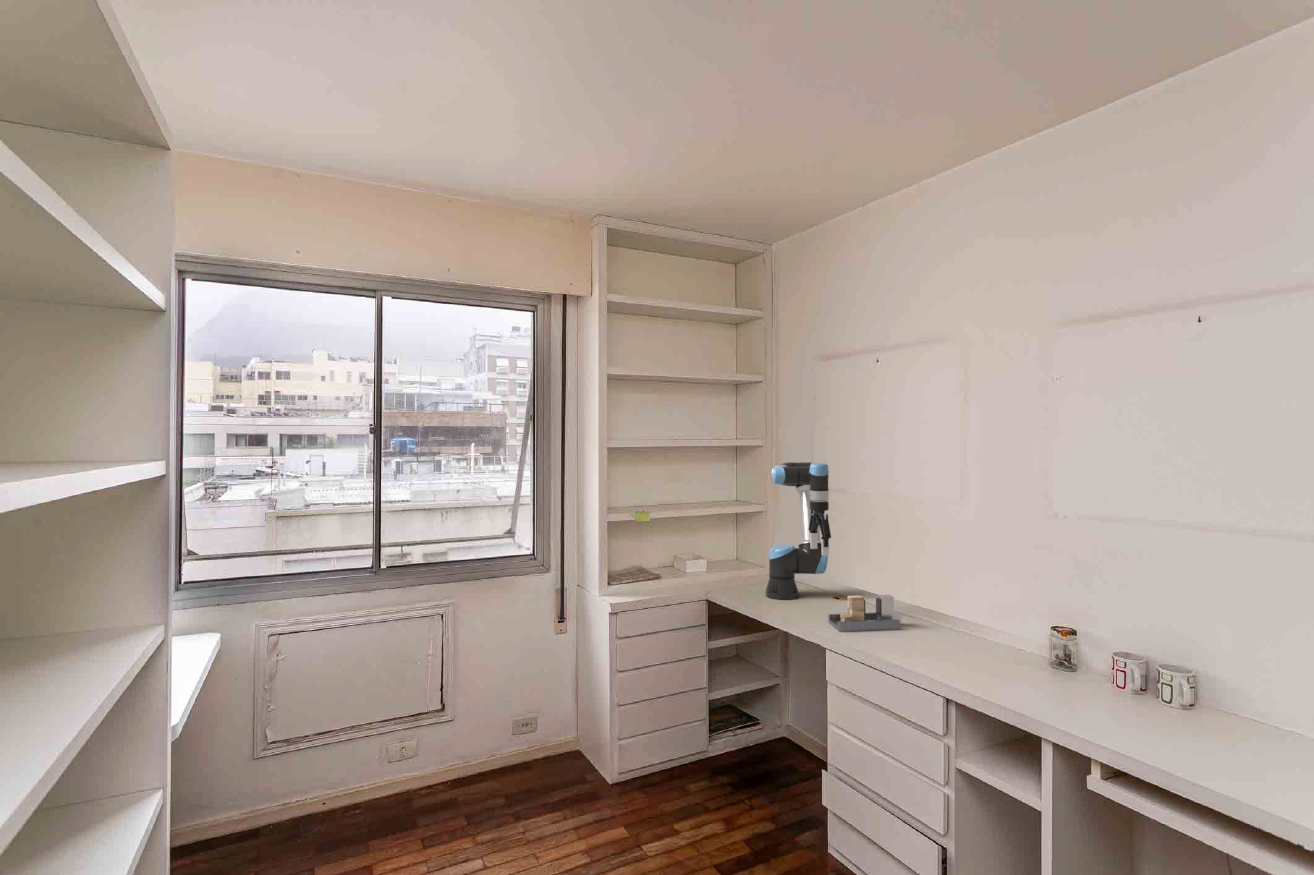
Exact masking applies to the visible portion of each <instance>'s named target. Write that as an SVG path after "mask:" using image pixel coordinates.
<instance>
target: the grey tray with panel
mask: <svg viewBox="0 0 1314 875" xmlns="http://www.w3.org/2000/svg"><path fill="white" fill-rule="evenodd" d="M840 614H841V613H828V616H827V619H828V620H827V623H828V624H829V625H831V626H832V627H833V628H834V629H835V630H837V631H838V632H839V633H842V632H843V633H844V632H870V631H871V632H873V631H894V630H895V631H896V630H900V629H901V623H902V614H901V613H899V612H898V611H895V598H894V596H892V595H891V594H877V595H876V597H875V612H865V616H864V621H841V616H840ZM842 614H848V612H847V613H846V612H845V613H843V612H842Z"/></svg>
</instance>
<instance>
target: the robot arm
mask: <svg viewBox="0 0 1314 875" xmlns="http://www.w3.org/2000/svg"><path fill="white" fill-rule="evenodd" d="M829 473H830V471H829V465H828V464H827V463H824V462H823V463H820V462H812V461H810V462H809V461H807V462H802V461H801V462H784V463H783V462H782V463H780V464H777V465H775V466H774V467H772V469H771V471H770V477H771V479H772V482H773V484H775V485H780V486H785V487H795V490H796V492H797V493H799V511H800V513H799V514H800V533H801V534H800V535H801V541H800V543H799V544H798V547H797V548H796V547H795V545H794V544H779V545H778V544H777V545H775V546H773V547H771V548H769V551H768V552H769V553H768V554H769V555H768V560H769V561H768V564H769V566H768V569H769V570H768V571H769V575H768V578H769V579H768V581H767V586H766V587H765V588H766V589H765V596H766V597H767V598H770V599H773V600H774V599H775V600H782V601H783V600H786V601H787V600H795V599H797V598H799V597H800V596H799V593H800V592H799V589H798V585H797V583H796V576H795V575H798V574H799V575H802V574H803V575H805V574H806V575H822V574H825V573H826V571H827V567H828V558H829V555H830V541H829V540H830V539H831V538H832V534H831V528H830V524H829V523H830V522H829V514H827V513H825V512H828V511H829V508H830V507H829V501H828V500H829V499H830V493H829V492H830V490H829Z"/></svg>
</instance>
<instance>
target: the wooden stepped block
mask: <svg viewBox="0 0 1314 875" xmlns="http://www.w3.org/2000/svg"><path fill="white" fill-rule="evenodd" d="M847 613H848V614H843V613H839V614H840V616H841V621H864V616H865V613H866V600H865V597H864V596H862V595H847Z"/></svg>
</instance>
